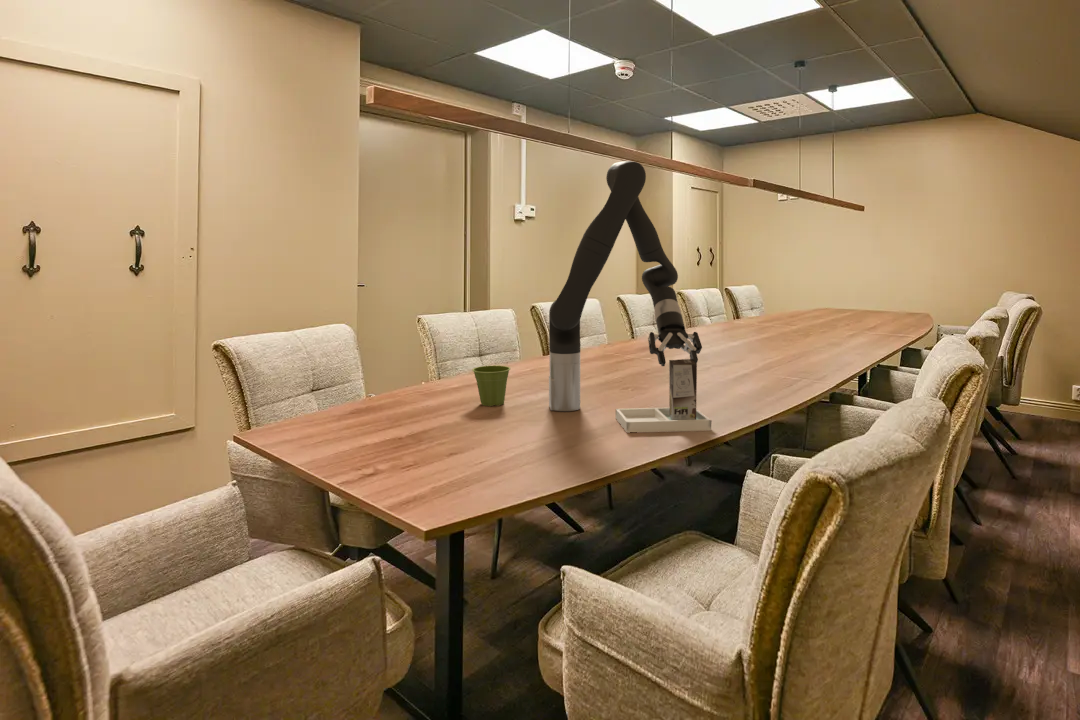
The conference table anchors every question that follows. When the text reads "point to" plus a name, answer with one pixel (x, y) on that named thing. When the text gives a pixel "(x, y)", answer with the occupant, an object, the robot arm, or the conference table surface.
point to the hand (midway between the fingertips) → (679, 364)
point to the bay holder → (659, 421)
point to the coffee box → (682, 389)
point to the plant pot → (491, 384)
